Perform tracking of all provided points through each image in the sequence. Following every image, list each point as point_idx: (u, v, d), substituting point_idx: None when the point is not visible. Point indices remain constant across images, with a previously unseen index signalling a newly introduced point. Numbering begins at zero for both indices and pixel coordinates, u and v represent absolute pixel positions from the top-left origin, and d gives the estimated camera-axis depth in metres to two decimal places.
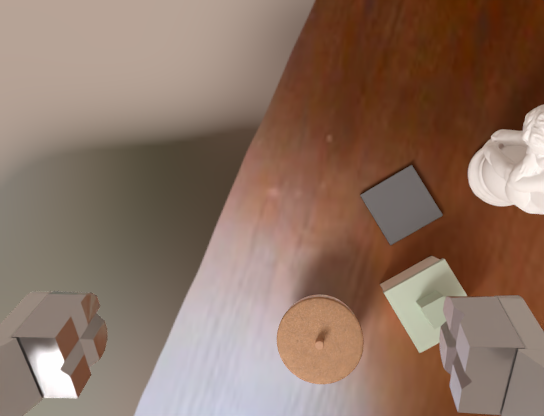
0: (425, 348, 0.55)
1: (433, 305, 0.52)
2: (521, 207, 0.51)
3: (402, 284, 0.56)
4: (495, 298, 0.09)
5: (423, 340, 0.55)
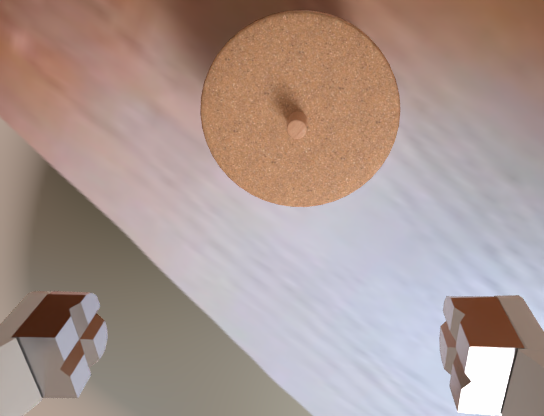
0: None
1: None
2: None
3: None
4: (494, 298, 0.09)
5: None
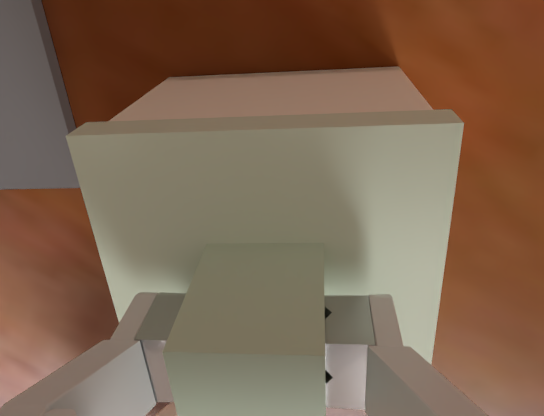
0: None
1: (198, 413, 0.09)
2: None
3: None
4: (365, 297, 0.10)
5: None
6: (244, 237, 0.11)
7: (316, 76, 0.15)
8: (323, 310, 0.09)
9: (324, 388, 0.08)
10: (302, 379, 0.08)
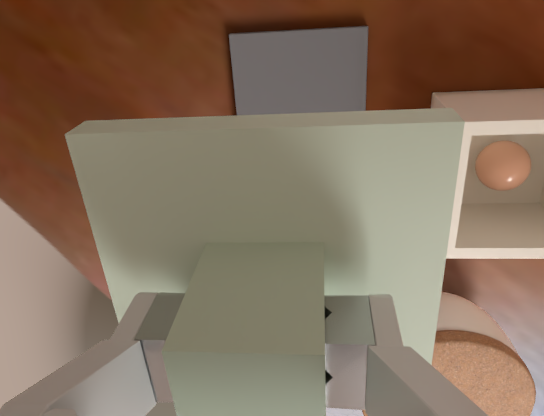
0: None
1: (197, 413, 0.08)
2: None
3: None
4: (365, 297, 0.10)
5: None
6: (243, 237, 0.11)
7: (530, 93, 0.26)
8: (323, 309, 0.09)
9: (324, 388, 0.08)
10: (301, 378, 0.08)
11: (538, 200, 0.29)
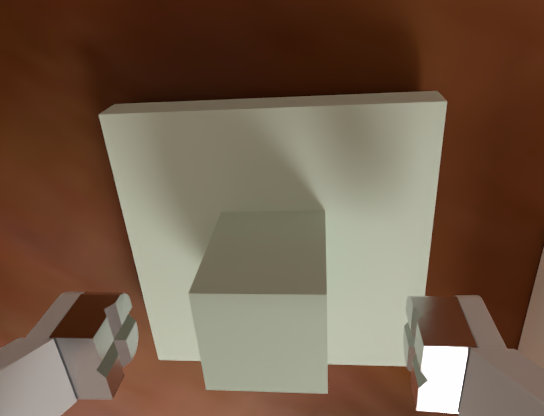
0: None
1: (217, 351, 0.10)
2: None
3: (150, 301, 0.14)
4: (454, 298, 0.09)
5: (381, 338, 0.14)
6: (254, 206, 0.12)
7: None
8: (325, 261, 0.10)
9: (326, 324, 0.09)
10: (307, 317, 0.09)
11: None
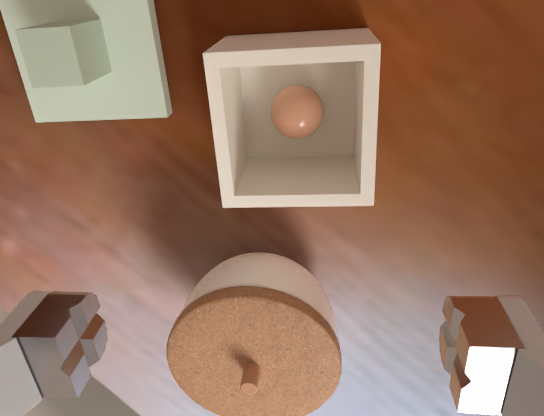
0: (162, 102, 0.27)
1: (32, 62, 0.23)
2: None
3: (25, 81, 0.27)
4: (494, 298, 0.09)
5: (145, 98, 0.27)
6: (67, 18, 0.25)
7: (318, 32, 0.25)
8: (79, 23, 0.23)
9: (73, 43, 0.22)
10: (64, 39, 0.22)
11: (352, 153, 0.28)
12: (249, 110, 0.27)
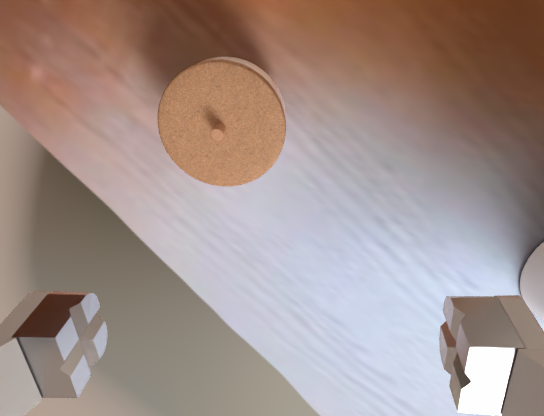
0: None
1: None
2: None
3: None
4: (495, 298, 0.09)
5: None
6: None
7: None
8: None
9: None
10: None
11: None
12: None
